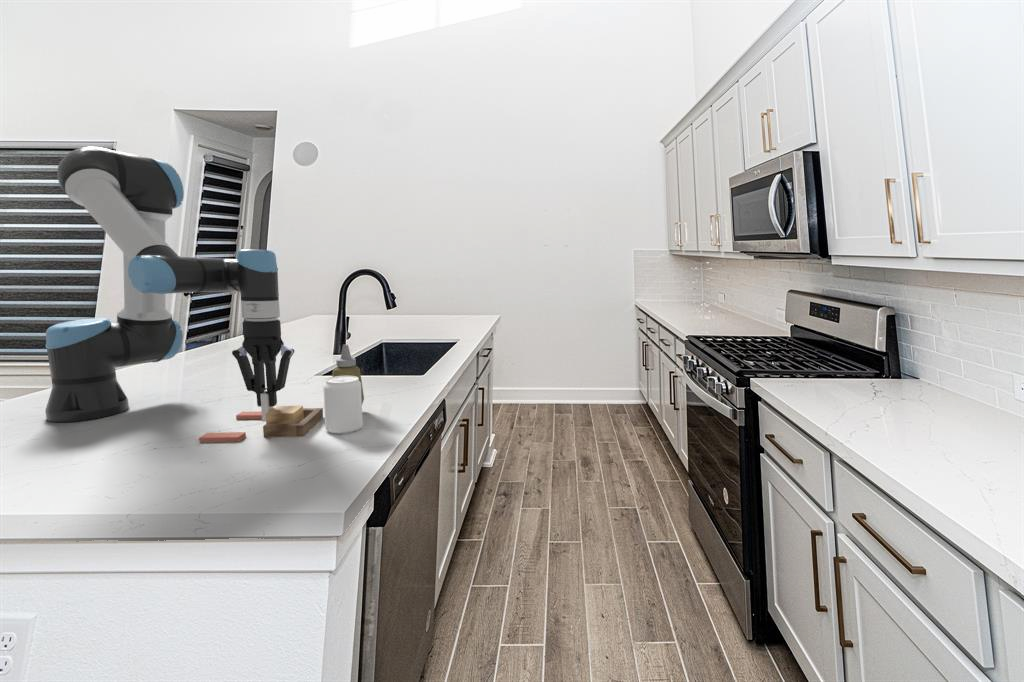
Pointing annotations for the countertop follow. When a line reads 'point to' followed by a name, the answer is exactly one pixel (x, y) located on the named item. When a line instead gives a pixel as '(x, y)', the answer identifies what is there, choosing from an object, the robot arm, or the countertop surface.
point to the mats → (231, 435)
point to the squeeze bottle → (347, 367)
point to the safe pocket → (295, 425)
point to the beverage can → (342, 404)
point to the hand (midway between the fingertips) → (268, 419)
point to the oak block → (285, 415)
